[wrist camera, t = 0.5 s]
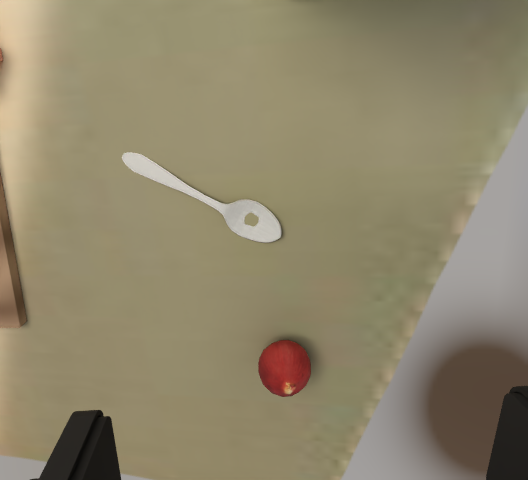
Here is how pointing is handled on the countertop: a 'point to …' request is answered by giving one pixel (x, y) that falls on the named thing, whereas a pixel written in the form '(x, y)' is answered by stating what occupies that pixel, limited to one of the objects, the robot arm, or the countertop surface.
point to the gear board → (9, 274)
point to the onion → (284, 368)
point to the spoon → (214, 202)
